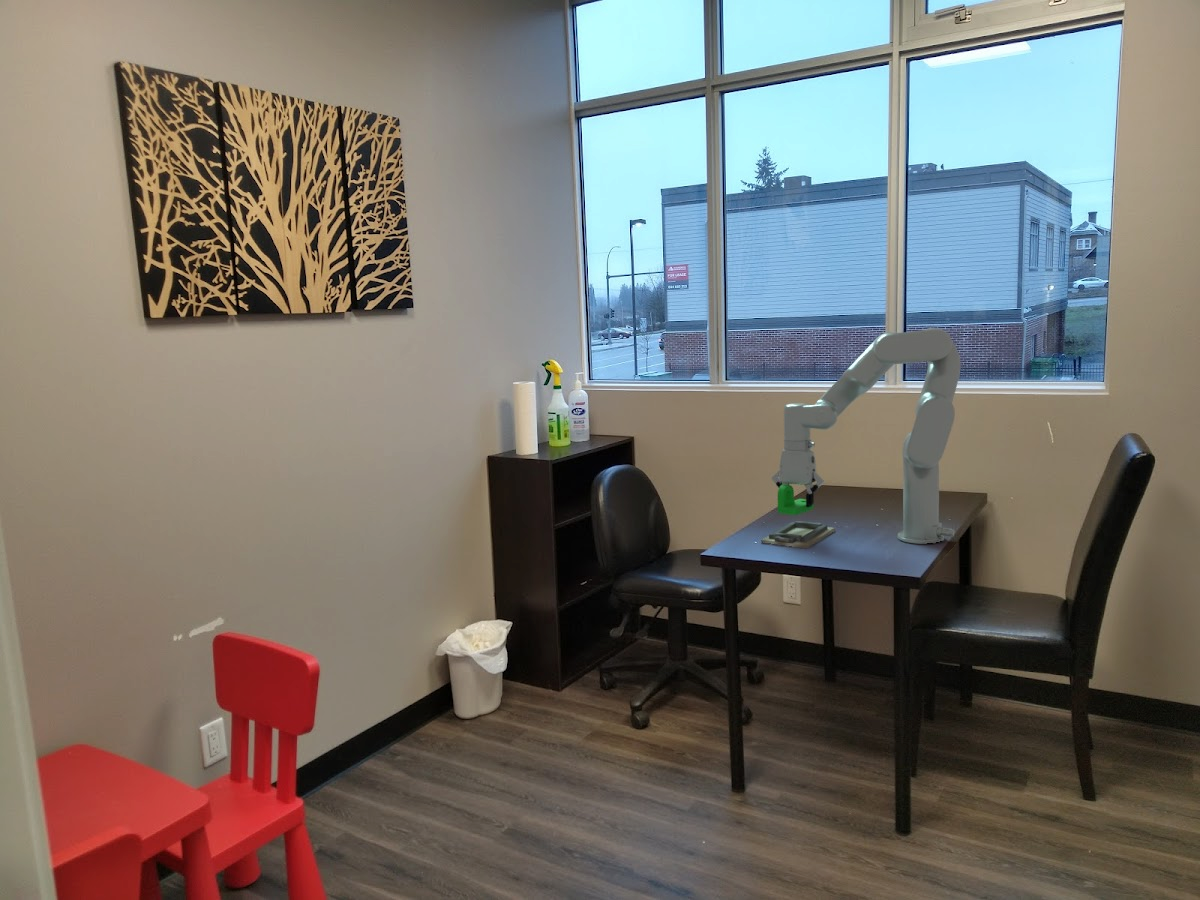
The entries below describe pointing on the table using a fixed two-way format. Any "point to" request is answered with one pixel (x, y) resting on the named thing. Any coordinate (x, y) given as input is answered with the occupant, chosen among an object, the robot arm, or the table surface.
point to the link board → (799, 534)
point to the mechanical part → (791, 502)
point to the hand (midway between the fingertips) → (797, 504)
